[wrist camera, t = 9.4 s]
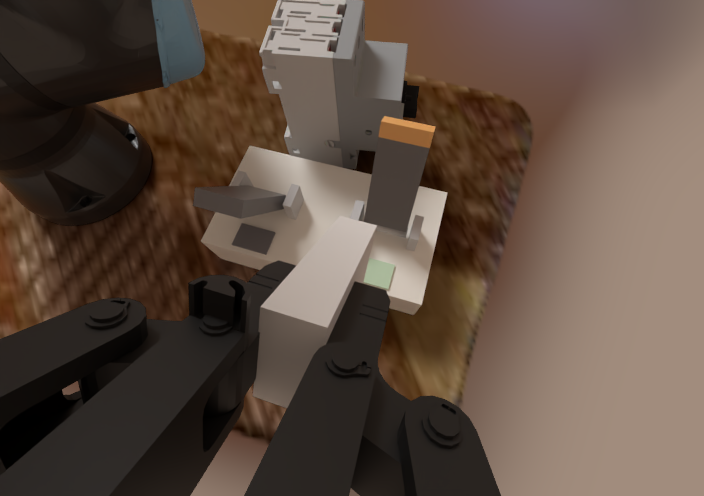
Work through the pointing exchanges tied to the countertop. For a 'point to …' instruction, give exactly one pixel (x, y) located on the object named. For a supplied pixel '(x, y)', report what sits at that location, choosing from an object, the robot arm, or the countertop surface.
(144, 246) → the countertop surface
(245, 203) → the lever
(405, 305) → the console
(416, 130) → the lever
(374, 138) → the circuit breaker
